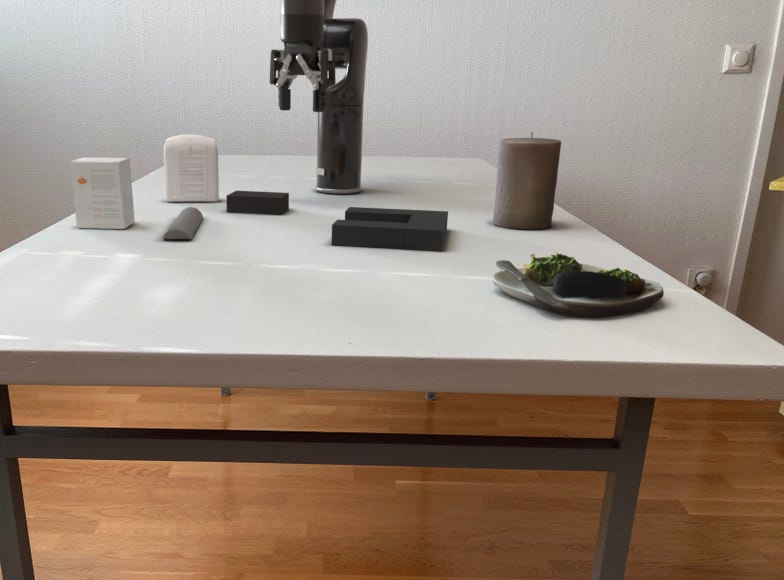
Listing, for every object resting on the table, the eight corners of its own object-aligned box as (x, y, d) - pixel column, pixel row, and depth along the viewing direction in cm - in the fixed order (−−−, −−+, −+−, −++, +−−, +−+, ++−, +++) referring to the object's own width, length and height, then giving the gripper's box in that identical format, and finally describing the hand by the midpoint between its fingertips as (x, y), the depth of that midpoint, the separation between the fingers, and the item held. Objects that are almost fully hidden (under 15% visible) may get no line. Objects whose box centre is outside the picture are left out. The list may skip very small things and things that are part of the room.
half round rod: (161, 241, 115) (161, 229, 114) (178, 217, 133) (178, 207, 133) (190, 241, 115) (190, 229, 114) (203, 217, 133) (203, 207, 133)
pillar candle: (564, 228, 128) (576, 133, 122) (514, 231, 124) (524, 134, 119) (527, 217, 136) (537, 128, 131) (480, 221, 133) (488, 129, 128)
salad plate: (446, 282, 94) (449, 245, 93) (553, 266, 103) (557, 231, 101) (569, 327, 79) (575, 283, 77) (682, 303, 87) (690, 263, 85)
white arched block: (219, 198, 152) (217, 133, 148) (219, 202, 148) (217, 135, 144) (165, 199, 151) (162, 133, 146) (165, 203, 147) (161, 135, 143)
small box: (135, 223, 128) (131, 157, 124) (124, 229, 123) (119, 161, 119) (88, 221, 129) (82, 156, 125) (75, 228, 124) (69, 160, 120)
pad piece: (236, 206, 144) (236, 190, 143) (289, 209, 142) (289, 192, 141) (226, 212, 138) (226, 195, 137) (281, 215, 136) (281, 197, 135)
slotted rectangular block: (348, 225, 128) (349, 206, 127) (446, 229, 125) (448, 211, 124) (331, 245, 114) (331, 224, 113) (441, 251, 111) (443, 230, 110)
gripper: (347, 12, 132) (344, 112, 138) (289, 16, 142) (288, 109, 147) (316, 10, 127) (315, 113, 133) (258, 13, 137) (259, 110, 142)
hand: (301, 111), depth 140 cm, fingers open, 8 cm apart
